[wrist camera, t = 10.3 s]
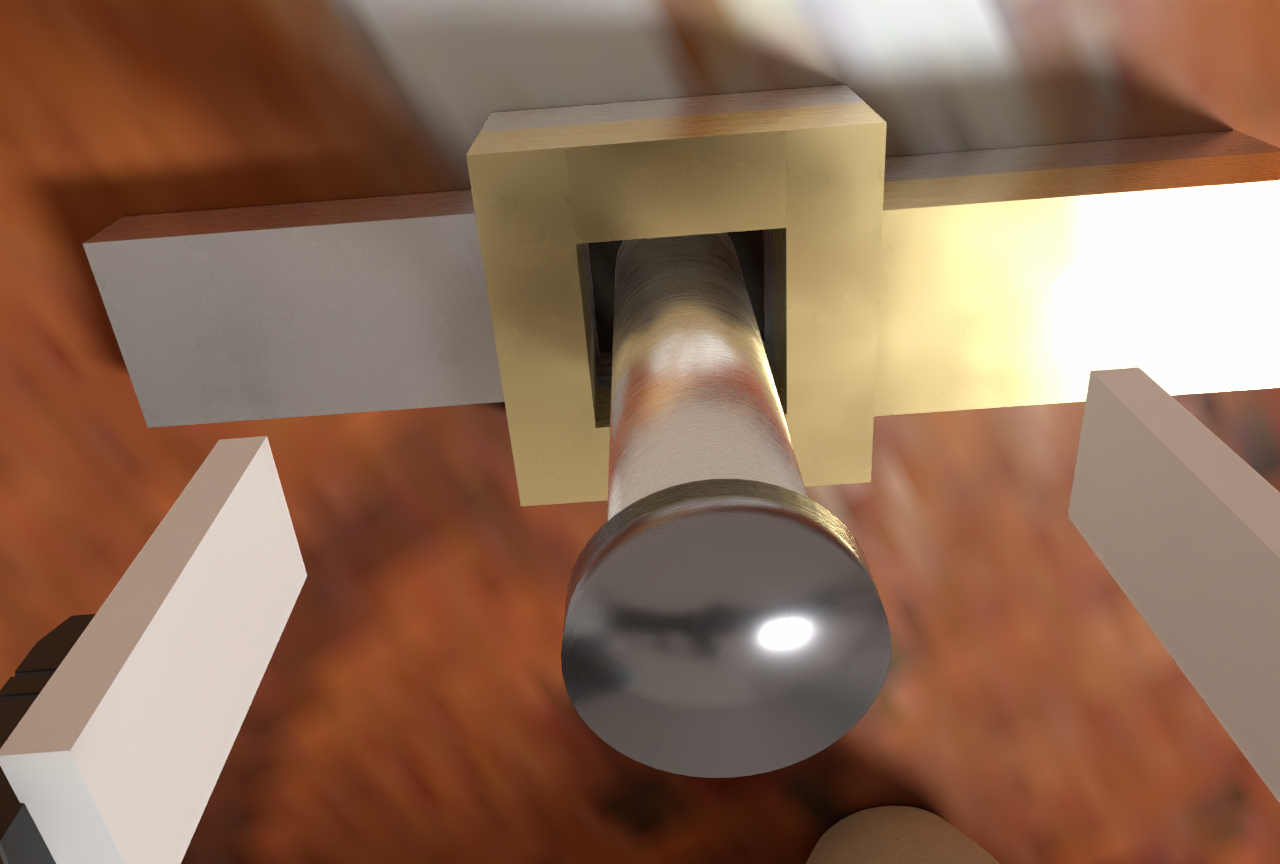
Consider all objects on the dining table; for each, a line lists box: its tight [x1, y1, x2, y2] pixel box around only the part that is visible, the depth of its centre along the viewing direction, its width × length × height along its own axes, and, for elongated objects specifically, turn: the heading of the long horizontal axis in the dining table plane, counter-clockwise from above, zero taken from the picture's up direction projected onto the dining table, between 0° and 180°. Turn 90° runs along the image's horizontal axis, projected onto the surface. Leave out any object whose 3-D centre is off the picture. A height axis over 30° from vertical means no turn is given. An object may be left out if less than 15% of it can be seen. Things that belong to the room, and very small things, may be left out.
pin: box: [561, 232, 891, 778], centre depth 18 cm, size 4×4×14 cm
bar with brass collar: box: [82, 85, 1280, 506], centre depth 23 cm, size 26×8×4 cm, turn 94°
